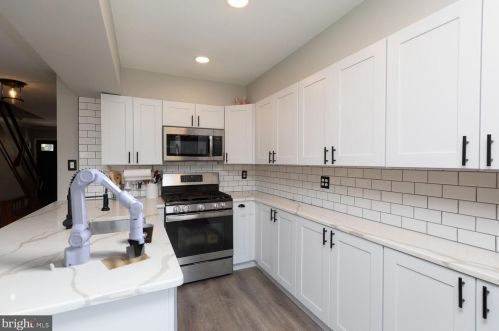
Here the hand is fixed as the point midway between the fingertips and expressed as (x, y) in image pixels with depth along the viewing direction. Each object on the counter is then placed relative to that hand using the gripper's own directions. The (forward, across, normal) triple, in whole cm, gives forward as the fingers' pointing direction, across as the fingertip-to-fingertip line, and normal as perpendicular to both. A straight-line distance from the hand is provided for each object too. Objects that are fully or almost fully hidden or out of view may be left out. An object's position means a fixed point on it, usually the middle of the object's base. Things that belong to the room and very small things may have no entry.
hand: (136, 254), depth 114 cm
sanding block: (+1, 0, 0) cm, 1 cm away
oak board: (+2, 0, +4) cm, 5 cm away
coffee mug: (+2, +21, -12) cm, 24 cm away
